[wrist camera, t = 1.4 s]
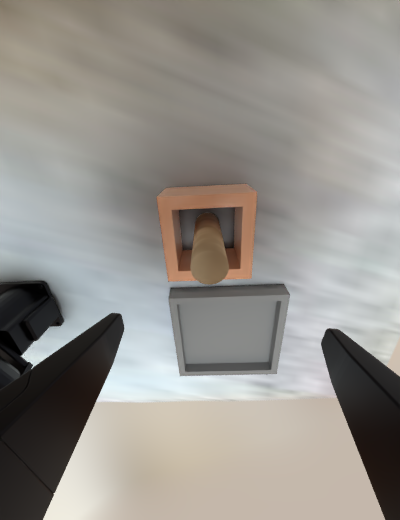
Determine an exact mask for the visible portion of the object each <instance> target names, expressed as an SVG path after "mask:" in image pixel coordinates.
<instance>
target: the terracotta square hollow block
mask: <svg viewBox="0 0 400 520" xmlns="http://www.w3.org/2000/svg"><path fill="white" fill-rule="evenodd" d="M256 202H257V191H255V190H254V189H253V188H251V187H250V186H249V185H247V184H230V185H211V186H192V187H173V188H165V189H164V190H163V191H162V192H161V193H160V194H159V195H158V196H157V204H158V212H159V219H160V226H161V233H162V240H163V247H164V254H165V261H166V268H167V275H168V282H169V281H196V279H195V278H194V277H193V275H192V273H191V269H190V267H191V258H192V250H183V248H182V237H181V227H180V217H179V210H181V209H202V208H222V207H235V214H234V248H225V251H226V255H227V260H228V264H229V271H228V274H227V276H226V277H225V278H224V279H250V278H251V277H252V262H253V247H254V232H255V217H256Z"/></svg>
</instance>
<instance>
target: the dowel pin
mask: <svg viewBox="0 0 400 520" xmlns="http://www.w3.org/2000/svg"><path fill="white" fill-rule="evenodd" d="M190 269H191V273H192V275H193V277H194V278H195V279H196V280H197V281H199V282H200V283H203V284H216V283H218V282H220V281H222V280H223V279H224V278H225V277H226V276H227V274H228V271H229V264H228V260H227V255H226V251H225V247H224V242H223V238H222V233H221V229H220V224H219V220H218V218H217V217H216V216H215V215H214V214H212V213H203V214H201V215H199V216H198V217H197V219H196V222H195V230H194V239H193V249H192V258H191V267H190Z"/></svg>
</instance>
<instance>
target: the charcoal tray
mask: <svg viewBox="0 0 400 520" xmlns="http://www.w3.org/2000/svg"><path fill="white" fill-rule="evenodd" d="M289 298H290V294H289V292H288V290H287V289H286V287H285V285H284V284H276V285H248V286H220V287H192V288H171V291H170V295H169V305H170V312H171V319H172V326H173V332H174V339H175V346H176V353H177V360H178V366H179V373H180V376H201V375H248V374H277V368H278V362H279V356H280V351H281V345H282V339H283V333H284V327H285V321H286V316H287V310H288V304H289Z"/></svg>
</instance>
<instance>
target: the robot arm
mask: <svg viewBox="0 0 400 520" xmlns="http://www.w3.org/2000/svg"><path fill="white" fill-rule="evenodd" d="M41 285H42V286H41ZM63 322H64V321H63V319H62V317H61V314H60V312H59V310H58V308H57V306H56V303H55V301H54V299H53V297H52V294H51V292H50V290H49V288H48V286H47V284H46V283H45V282H43V281H32V282H6V283H0V520H43V518H44V516H45V513H46V511H47V508H48V507H49V505H50V502H51V500H52V498H53V496H54V494H53V493H55V491H56V489H57V486H58V484H59V482H60V480H61V478H62V475H63V473H64V471H65V469H66V466H67V464H68V462H69V460H70V458H71V455H72V453H73V451H74V449H75V447H76V444H77V442H78V440H79V438H80V436H81V433H82V431H83V429H84V427H85V425H86V422H87V420H88V418H89V416H90V413H91V411H92V409H93V407H94V404H95V402H96V400H97V398H98V396H99V394H100V391H101V389H102V387H103V385H104V383H105V380H106V378H107V376H108V374H109V371H110V369H111V367H112V365H113V362H114V359H115V356H116V353H117V350H118V347H119V344H120V341H121V338H122V335H123V332H124V324H123V319H122V315H121V314H119V313H111V314H109V315H108V316H106V317H105V318H103V319H102V320H101V321H99V322H98V323H96V324H95V325H93V326H92V327H91V328H89V329H88V330H86V331H85V332H83V333H82V334H80V335H79V336H78V337H76V338H75V339H73V340H72V341H70V342H69V343H68V344H66V345H65V346H63V347H62V348H60V349H59V350H58V351H56V352H55V353H53V354H52V355H50V356H49V357H47V358H46V359H45V360H43V361H42V362H40V363H39V364H37V365H36V366H35V367H33V368H32V366H33V365H32V364H31V363H30V362H27V361H26V360H25V359H23V358H22V357H21V355H23V353H24V352H25V351H26V350H27V349H28V348H29V347H30V345H31V344H32V343H33V342H34V341H37V340H38V339H39V338H40V337H41V336H42V335H43V333H44V332H45V331H46V330H47V329H48V328H49V327H50V326H61V325H62V324H63ZM321 346H322V350H323V354H324V357H325V361H326V365H327V368H328V372H329V375H330V379H331V382H332V385H333V388H334V390H335V393H336V395H337V398H338V401H339V403H340V406H341V408H342V411H343V413H344V416H345V418H346V421H347V423H348V426H349V428H350V431H351V434H352V436H353V438H354V441H355V444H356V446H357V449H358V451H359V454H360V456H361V459H362V461H363V464H364V466H365V469H366V471H367V474H368V477H369V479H370V482H371V484H372V487H373V490H374V492H375V495H376V497H377V499H378V502H379V505H380V507H381V510H382V512H383V515H384V517H385V520H400V377H399V376H398V375H397V374H396V373H394V372H393V371H392V370H390V369H389V368H388V367H387V366H385V365H384V364H383V363H381V362H380V361H379V360H378V359H376V358H375V357H374V356H372V355H371V354H370V353H369V352H367V351H366V350H365V349H363V348H362V347H361V346H360V345H358V344H357V343H356V342H354V341H353V340H352V339H351V338H349V337H348V336H347V335H345V334H344V333H343V332H342V331H340V330H339V329H331V328H329V329H327V330H326V332H325V334H324V337H323V339H322V342H321ZM31 368H32V369H31Z"/></svg>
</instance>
